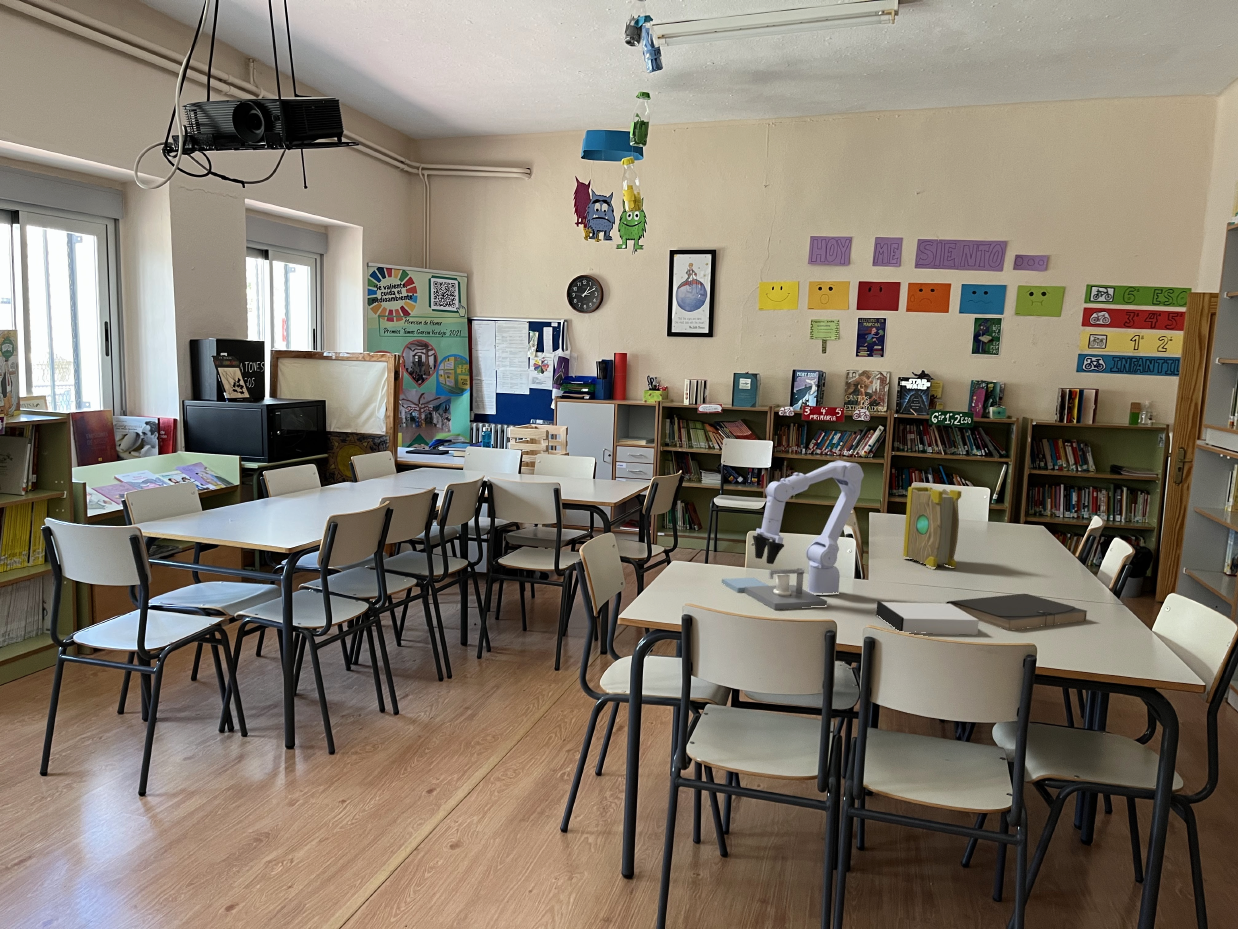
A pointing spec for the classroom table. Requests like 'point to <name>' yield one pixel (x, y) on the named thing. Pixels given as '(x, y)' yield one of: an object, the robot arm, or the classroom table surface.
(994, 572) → the classroom table surface
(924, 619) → the disc drive
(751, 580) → the mat
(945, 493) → the decorative book
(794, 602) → the grey socket base
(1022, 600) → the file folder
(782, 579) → the plug
